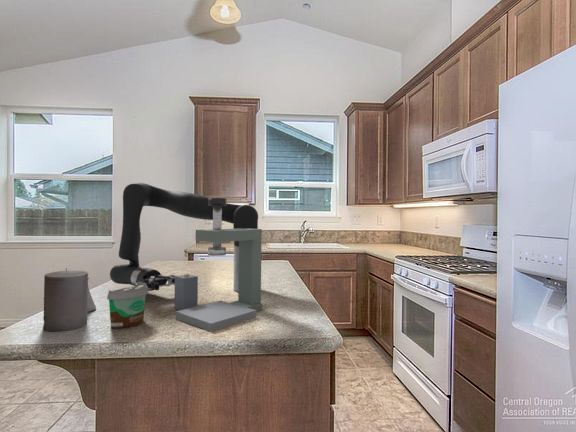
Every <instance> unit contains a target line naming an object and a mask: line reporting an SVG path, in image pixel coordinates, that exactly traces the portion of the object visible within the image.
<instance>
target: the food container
mask: <svg viewBox="0 0 576 432" xmlns="http://www.w3.org/2000/svg"><path fill="white" fill-rule="evenodd" d="M147 294H149V291H148V287H147V286H146V284H145V283H141V282H137V285H136V286H131V287H124V288H122V289H120V290H108V293H107V297H106V299H107V300H108V305H109V306H108V307H109V317H110V318H109V319H110V320H109V321H110V330H124V329H125V330H126V329H131V328H135V327H138V326H141V325H142V324H143V322H144V317H145V307H146V297H147Z"/></svg>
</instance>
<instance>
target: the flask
mask: <svg viewBox="0 0 576 432" xmlns="http://www.w3.org/2000/svg"><path fill="white" fill-rule="evenodd" d="M89 279H90V277H89V276H88V280H89ZM95 310H97V306H96V304H95V301H94V299H93V296H92V293H91V292H90V286H88V294H87V313H88V312H89V313H90V312H92V311H95Z"/></svg>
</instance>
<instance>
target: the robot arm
mask: <svg viewBox="0 0 576 432" xmlns="http://www.w3.org/2000/svg"><path fill="white" fill-rule="evenodd" d="M208 198H210V197H208V196H204V195H200V194H195V193H192V192H185V191H184V192H183V191H179V190H178V191H175V190H168V189H167V190H166V189H162V188H160V187H157V186H154V185H151V184H147V183H144V182H132V183H129V184H128V185H126V186H125V188H124V190H123V192H122V231H121V237H120V244H119V249H118V257H119V258H120V259H122V260H125V261H128V262H129V263H128V264H116V265H114V266H112V268H111V269H110V272H109V277H110V280H111V282H113V283H115V284H119V285H130V286H132V287H134V286H136V285H137V282H141V283H145V284H146V286H147V287H148V292H149V291H150V292H152V291H154V290H155V291H159V290H160V288H161V287H171V286H175V276H176V275H175V274H170V275H163V274H161V272H160V271H159V270H157V269H152V268H148V267H141V266H140V262H139V261H140V259H139V258H140V257H139V253H140V247H141V241H142V240H141V239H142V237H141V236H142V234H141V226H140V225H141V223H140V222H141V216H142V215H141V214H142V212H143V208H144V207H154V208H159V209H165V210H168V211H170V212H173V213H175V214H177V215H181V216H184V217H188V218H193V219H197V220H206V221H207V220H208V221H213V206H210V205H208ZM258 220H259V213H258V211H257V209H256V208H255V207H253V205H249V204H233V203H228V202H226V206H222V222H225V223H230V224H233V228H232V229H240V228H241V229H259V228H258V227H259V226H258V223H259V221H258ZM238 286H239V241H233V291H235V292H238Z"/></svg>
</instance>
